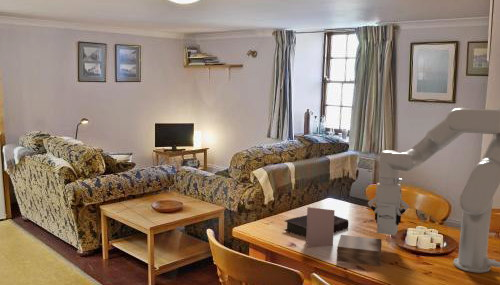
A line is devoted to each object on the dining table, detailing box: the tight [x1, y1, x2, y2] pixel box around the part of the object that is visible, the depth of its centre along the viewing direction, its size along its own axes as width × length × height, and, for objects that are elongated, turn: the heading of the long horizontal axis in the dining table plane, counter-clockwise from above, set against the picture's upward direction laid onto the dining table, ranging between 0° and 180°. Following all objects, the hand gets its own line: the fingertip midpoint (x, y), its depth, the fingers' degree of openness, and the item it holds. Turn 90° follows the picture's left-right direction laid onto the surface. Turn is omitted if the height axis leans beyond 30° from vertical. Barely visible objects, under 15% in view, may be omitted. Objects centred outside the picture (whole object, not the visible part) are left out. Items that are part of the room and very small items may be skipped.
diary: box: [284, 214, 349, 237], centre depth 219 cm, size 19×25×5 cm
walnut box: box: [336, 234, 383, 267], centre depth 187 cm, size 16×14×6 cm
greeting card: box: [305, 207, 335, 248], centre depth 197 cm, size 11×7×15 cm, turn 70°
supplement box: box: [376, 203, 399, 236], centre depth 195 cm, size 7×7×13 cm
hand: (387, 222), depth 195 cm, fingers closed on supplement box, 7 cm apart
